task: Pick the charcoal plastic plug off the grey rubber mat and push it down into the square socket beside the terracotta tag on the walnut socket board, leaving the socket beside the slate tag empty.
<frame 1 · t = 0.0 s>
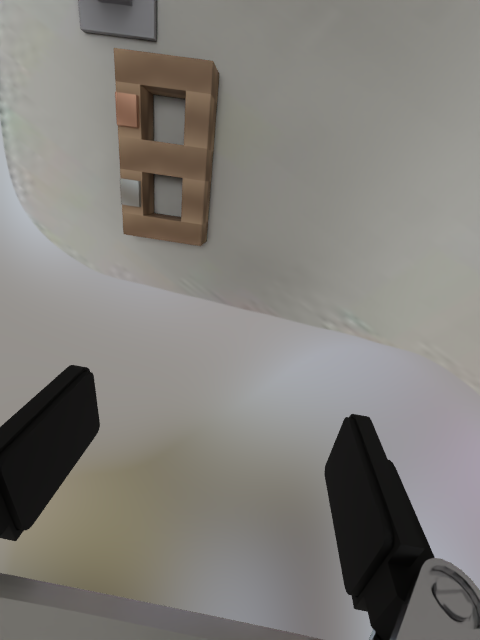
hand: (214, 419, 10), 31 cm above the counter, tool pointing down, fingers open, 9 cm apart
socket board: (172, 161, 35), on the counter
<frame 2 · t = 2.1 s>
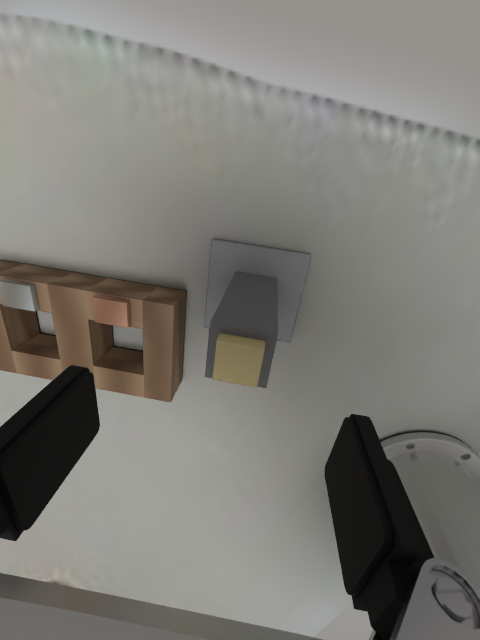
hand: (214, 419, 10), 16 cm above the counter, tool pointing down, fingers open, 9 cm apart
mat: (253, 291, 25), on the counter
socket board: (96, 323, 28), on the counter
plug: (253, 294, 24), point 1 cm above the counter, touching mat
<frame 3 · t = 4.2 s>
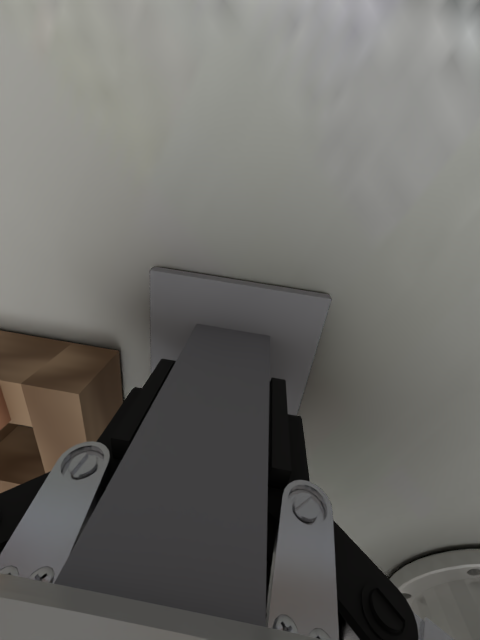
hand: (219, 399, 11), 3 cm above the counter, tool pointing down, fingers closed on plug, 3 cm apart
mat: (230, 353, 14), on the counter
plug: (229, 360, 14), point 1 cm above the counter, touching gripper, mat
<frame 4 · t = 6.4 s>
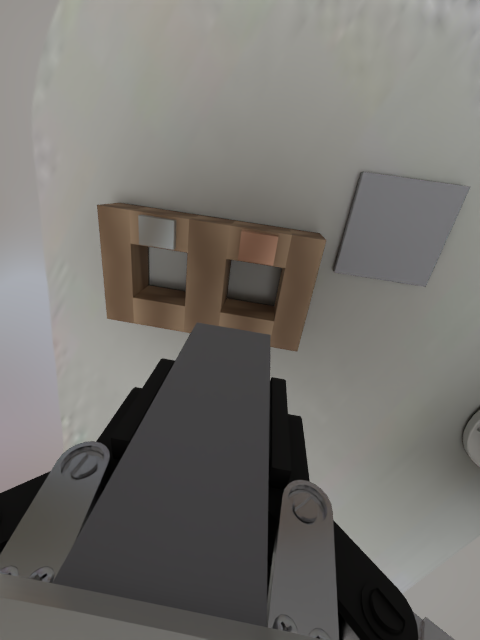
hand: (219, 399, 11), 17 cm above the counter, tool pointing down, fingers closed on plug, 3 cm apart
mat: (393, 232, 24), on the counter
socket board: (212, 272, 27), on the counter
plug: (229, 359, 14), point 14 cm above the counter, touching gripper
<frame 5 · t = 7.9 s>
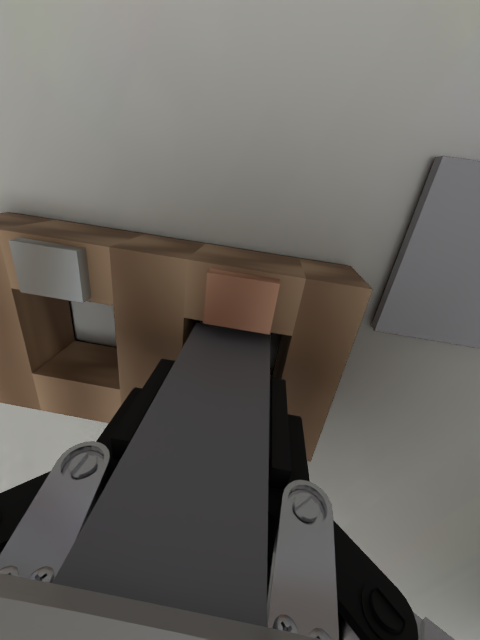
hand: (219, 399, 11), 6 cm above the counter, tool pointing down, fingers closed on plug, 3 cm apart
socket board: (172, 324, 17), on the counter
plug: (229, 359, 14), point 3 cm above the counter, touching gripper
when the fingers open (5 cm above the counter, at t = 8.7 s): plug drops 2 cm, resting in socket board.
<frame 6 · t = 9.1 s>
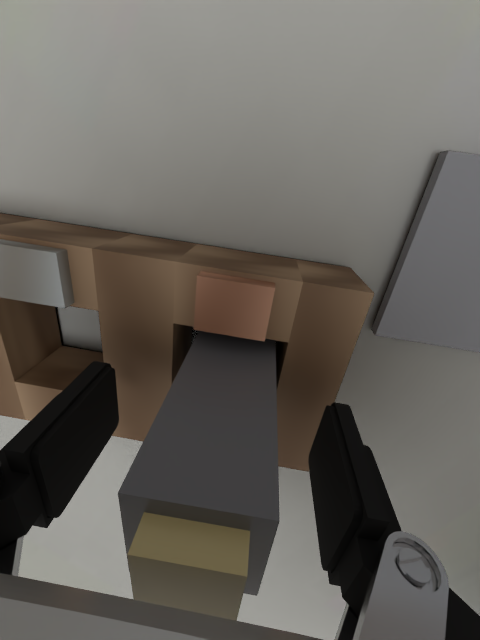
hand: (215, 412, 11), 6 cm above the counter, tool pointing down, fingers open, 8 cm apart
socket board: (164, 328, 16), on the counter
plug: (238, 340, 16), resting in socket board
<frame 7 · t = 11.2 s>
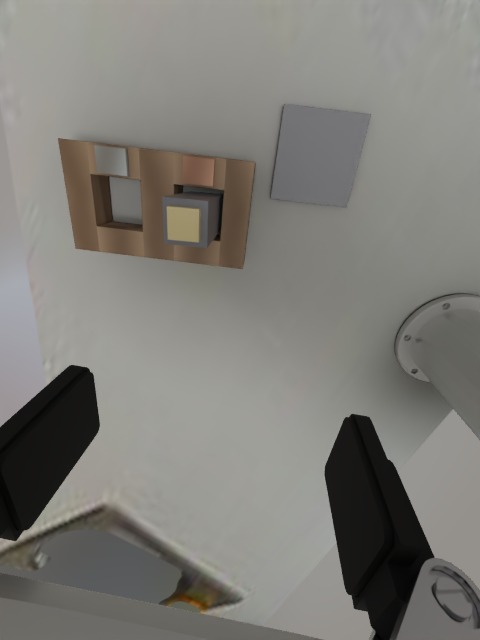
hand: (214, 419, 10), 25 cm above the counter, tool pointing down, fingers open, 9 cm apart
mat: (316, 159, 28), on the counter
socket board: (168, 205, 31), on the counter
plug: (206, 210, 31), resting in socket board
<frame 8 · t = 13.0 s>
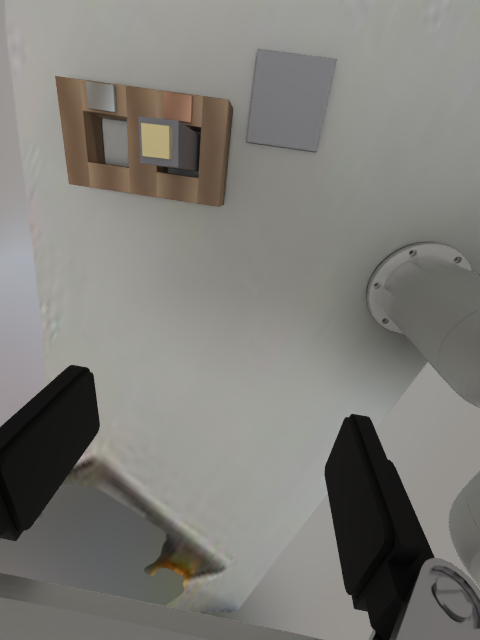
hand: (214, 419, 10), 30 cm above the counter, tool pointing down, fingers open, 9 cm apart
mat: (288, 104, 30), on the counter
socket board: (154, 149, 34), on the counter
plug: (189, 153, 33), resting in socket board
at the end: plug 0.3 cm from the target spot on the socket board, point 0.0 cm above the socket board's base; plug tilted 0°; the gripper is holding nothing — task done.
